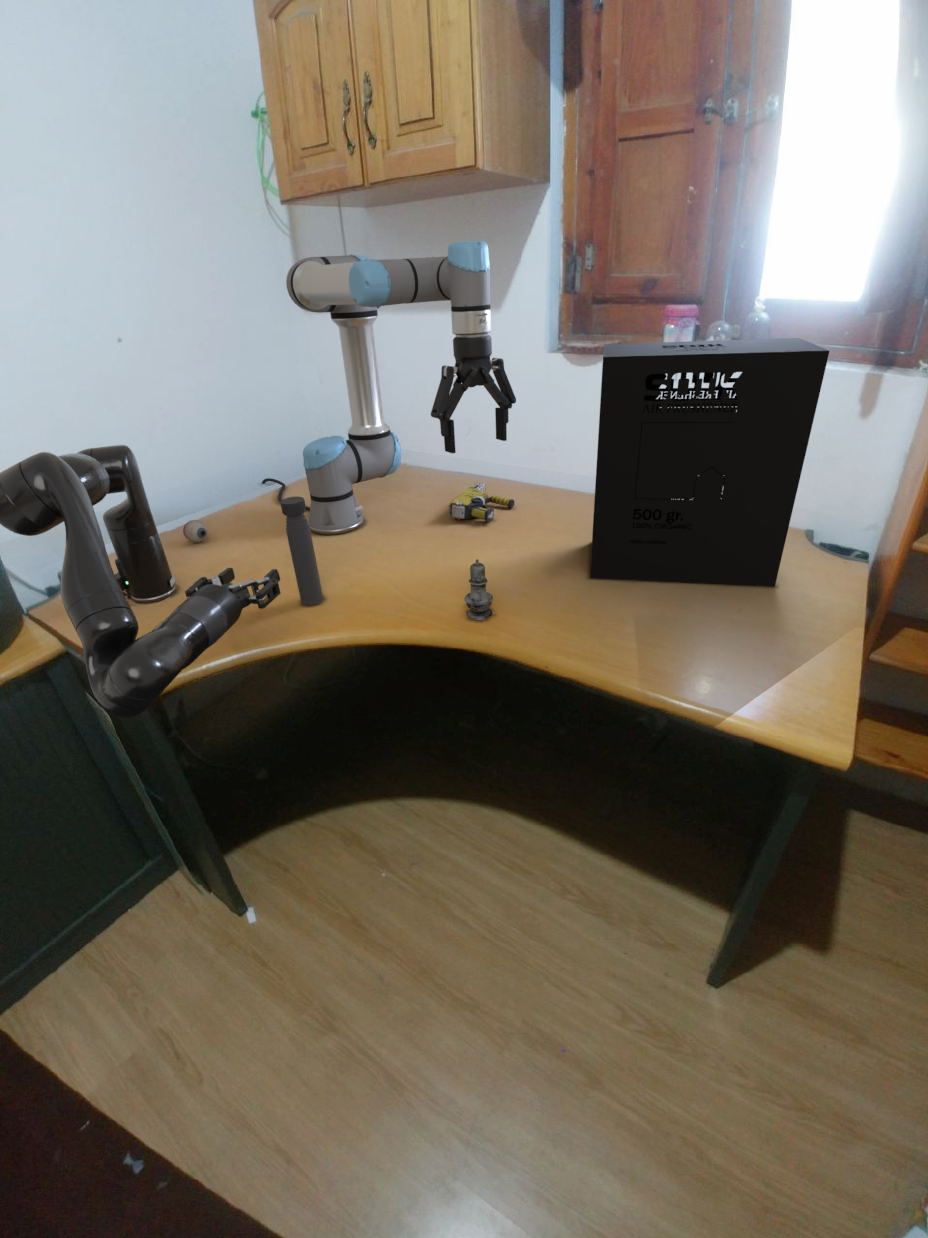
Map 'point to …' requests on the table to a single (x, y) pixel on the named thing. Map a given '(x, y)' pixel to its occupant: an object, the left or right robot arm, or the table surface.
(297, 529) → the bottle
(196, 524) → the eyeball
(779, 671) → the table surface
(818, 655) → the table surface
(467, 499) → the toy gun
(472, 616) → the grey chess piece
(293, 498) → the cap
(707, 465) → the cardboard box
